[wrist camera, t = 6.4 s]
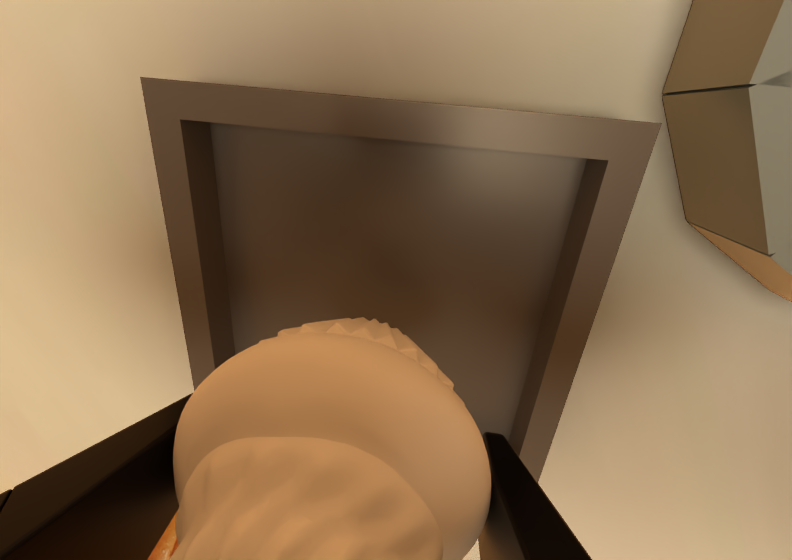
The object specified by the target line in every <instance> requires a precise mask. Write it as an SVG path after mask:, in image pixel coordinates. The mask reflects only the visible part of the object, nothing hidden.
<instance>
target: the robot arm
mask: <svg viewBox="0 0 792 560" xmlns="http://www.w3.org/2000/svg"><path fill="white" fill-rule="evenodd" d="M192 394H193V393H192ZM192 394H190V395H188V396H186V397H184V398H182V399H180V400H178V401H177V402H175V403H173V404H171V405H169V406H167V407H165V408H163V409H161V410H159V411H158V412H156V413H154V414H152V415H150V416H148V417H146V418H144V419H142V420H140V421H139V422H137V423H135V424H133V425H131V426H129V427H127V428H125V429H123V430H122V431H120V432H118V433H116V434H114V435H112V436H110V437H108V438H106V439H104V440H103V441H101V442H99V443H97V444H95V445H93V446H91V447H89V448H87V449H85V450H84V451H82V452H80V453H78V454H76V455H74V456H72V457H70V458H68V459H66V460H65V461H63V462H61V463H59V464H57V465H55V466H53V467H51V468H49V469H47V470H45V471H44V472H42V473H40V474H38V475H36V476H34V477H32V478H30V479H28V480H26V481H25V482H23V483H21V484H19V485H17V486H15V487H14V489H13V490H11V489H10V490H7V491H5V492H3V493H2V494H0V560H147V559H148V558H149V556H150V555H151V553H152V551H153V550H154V548H155V546H156V545H157V543H158V542H159V540H160V538H161V537H162V535H163V533H164V532H165V530H166V528H167V527H168V525H169V524H170V522H171V520H172V519H173V517H174V515H175V514H176V512H177V511H178V509H179V502H178V499H177V496H176V490H175V483H174V471H173V449H174V440H175V434H176V429H177V425H178V422H179V419H180V416H181V413H182V411H183V409H184V407H185V405H186V403H187V401H188V400H189V398H190V397H191V395H192ZM482 438H483V442H484V445H485V448H486V451H487V455H488V460H489V465H490V472H491V500H490V508H489V512H488V516H487V519H486V522H485V525H484V527H483V529H482V532H481V534H480V536H479V537H478V541H479V551H480V560H592V559H591V557H590V556H589V555H588V553H587V552H586V550H585V549H584V548H583V546H582V545H581V543H580V542H579V541H578V539H577V538H576V536H575V535H574V534H573V532H572V531H571V529H570V528H569V527H568V525H567V524H566V522H565V521H564V519H563V518H562V517H561V515H560V514H559V512H558V511H557V510H556V508H555V507H554V505H553V504H552V503H551V501H550V500H549V498H548V497H547V496H546V494H545V493H544V491H543V490H542V489H541V487H540V486H539V484H538V483H537V481H536V480H535V479H534V477H533V476H532V474H531V473H530V472H529V470H528V469H527V467H526V466H525V465H524V463H523V462H522V460H521V459H520V458H519V456H518V455H517V453H516V452H515V450H514V449H513V448H512V446H511V445H510V443H509V442H508V441H507V439H506V438H505V437H504V436H503V435H502V434H499V433H493V432H485V433H484V434H483V437H482Z"/></svg>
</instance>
